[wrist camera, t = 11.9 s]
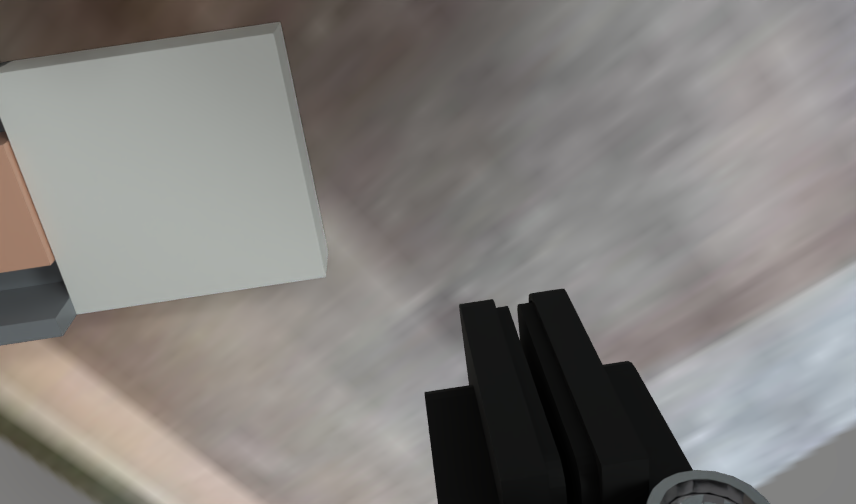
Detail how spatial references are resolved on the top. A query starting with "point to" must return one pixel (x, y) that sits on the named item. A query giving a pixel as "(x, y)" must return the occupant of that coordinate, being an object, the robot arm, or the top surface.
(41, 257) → the tile
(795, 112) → the top surface
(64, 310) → the bin
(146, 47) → the plate
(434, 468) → the robot arm
